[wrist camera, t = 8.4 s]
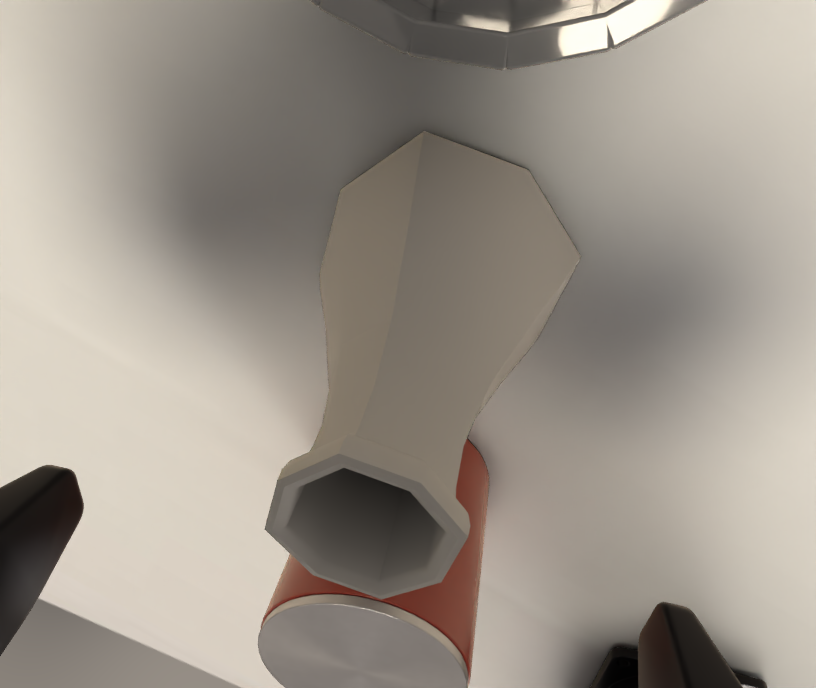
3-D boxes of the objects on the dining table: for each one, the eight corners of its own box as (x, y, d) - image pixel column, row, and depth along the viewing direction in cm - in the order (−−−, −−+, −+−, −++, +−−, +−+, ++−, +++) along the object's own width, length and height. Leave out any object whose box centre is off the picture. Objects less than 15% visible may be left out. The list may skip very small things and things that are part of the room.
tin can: (474, 542, 24) (451, 746, 18) (329, 510, 25) (258, 697, 19) (503, 432, 21) (488, 635, 15) (335, 397, 21) (251, 580, 15)
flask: (283, 273, 19) (88, 524, 11) (418, 75, 15) (271, 232, 7) (464, 400, 20) (412, 706, 12) (629, 249, 17) (714, 548, 8)
